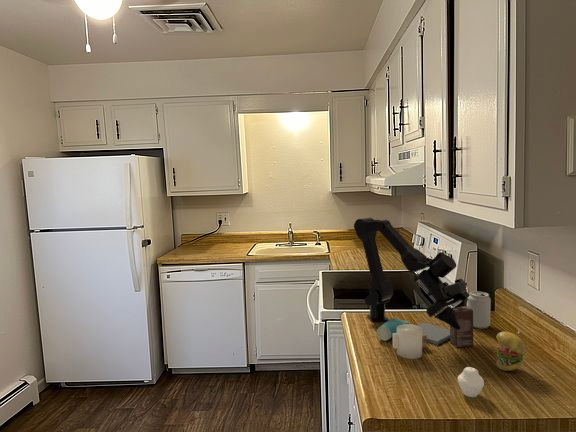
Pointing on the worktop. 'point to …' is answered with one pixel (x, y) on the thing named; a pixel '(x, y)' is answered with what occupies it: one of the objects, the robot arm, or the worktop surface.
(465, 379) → the muffin
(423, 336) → the walnut block
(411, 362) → the worktop surface
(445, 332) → the coaster
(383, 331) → the tube
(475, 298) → the can
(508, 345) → the hamburger
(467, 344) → the box
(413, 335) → the white tapered cup
